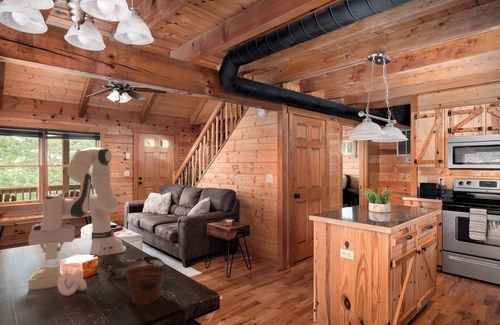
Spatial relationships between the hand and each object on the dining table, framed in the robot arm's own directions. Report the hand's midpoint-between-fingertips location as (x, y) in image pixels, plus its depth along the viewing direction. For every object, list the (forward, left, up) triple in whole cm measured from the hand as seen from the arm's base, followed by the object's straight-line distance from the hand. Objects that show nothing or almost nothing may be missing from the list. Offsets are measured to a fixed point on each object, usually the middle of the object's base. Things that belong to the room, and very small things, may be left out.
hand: (52, 251), depth 156 cm
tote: (0, +4, -14) cm, 15 cm away
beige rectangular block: (0, +8, -14) cm, 16 cm away
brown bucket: (-45, +40, -15) cm, 62 cm away
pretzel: (-13, +21, -15) cm, 29 cm away
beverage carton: (-37, +8, -15) cm, 41 cm away
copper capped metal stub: (0, 0, -4) cm, 4 cm away
